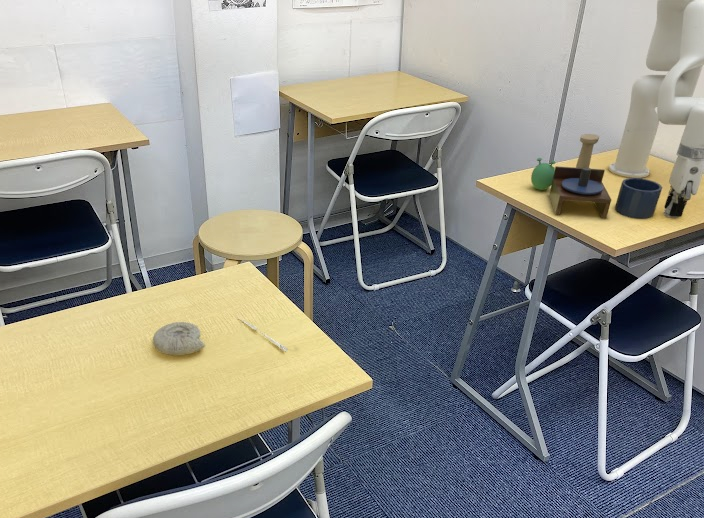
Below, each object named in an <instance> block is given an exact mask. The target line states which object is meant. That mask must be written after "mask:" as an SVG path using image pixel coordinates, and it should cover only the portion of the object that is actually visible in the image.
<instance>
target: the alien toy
mask: <svg viewBox="0 0 704 518" xmlns="http://www.w3.org/2000/svg"><path fill="white" fill-rule="evenodd" d="M542 160H543V158H541V157H538V158H536V161H537V162H538V164H537V165H536V166H535V167H534V168H533V170H532V172H531V175H530V181H531V184H532V186H533V187H534V189H536V190H538V191H546V190H547V189H550V188H551V185H552V180H553V176H554V171H555V167H556V166H553V165H555V164H556V161H555V160H550V163H548V162H542V163H541V161H542Z"/></svg>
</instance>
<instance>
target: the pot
mask: <svg viewBox="0 0 704 518" xmlns="http://www.w3.org/2000/svg"><path fill="white" fill-rule="evenodd" d="M662 191H663V186H662V185H661V184H659V182H656V181H653V180H650V179H646V178H630V177H627V178H626V179H623V180H622V182H621V184H620V187H619V190H618V195H617V198H616V202H615V205H614V211H615V212H616V213H617V214H619V215H620V216H622V217H626V218H630V219H635V220H648V219H651V218H653V216H654V214H655V211H656V208H657V206H658V203H659V200H660V196H661V193H662Z"/></svg>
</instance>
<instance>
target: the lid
mask: <svg viewBox="0 0 704 518" xmlns="http://www.w3.org/2000/svg"><path fill="white" fill-rule="evenodd" d="M591 169H592V168H590V167H589V168H588V167H583V168H582V169H581V173H580V178H569V179H565V180H563V181H562V187H563V188H565V189H566V190H569V191H571V192H575V193H579V194H598V193H601V192H602V191H603V186H602V185H601V184H600V183H598V182H595V181H592V180H589V177H590V173H591Z"/></svg>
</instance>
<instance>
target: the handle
mask: <svg viewBox="0 0 704 518" xmlns="http://www.w3.org/2000/svg"><path fill="white" fill-rule="evenodd" d="M599 139H600V136H599V135H598V134H594V133H585V134H581V135H580V138H579V142H580V143H582V145H581V149H580V151H579V155H578V158H577V162H576V165H575V168H583V167H588V168H590V166H591V162H592V161H591V160H592V154H593V150H594V145H595V144H597V143H598V142H599Z"/></svg>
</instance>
